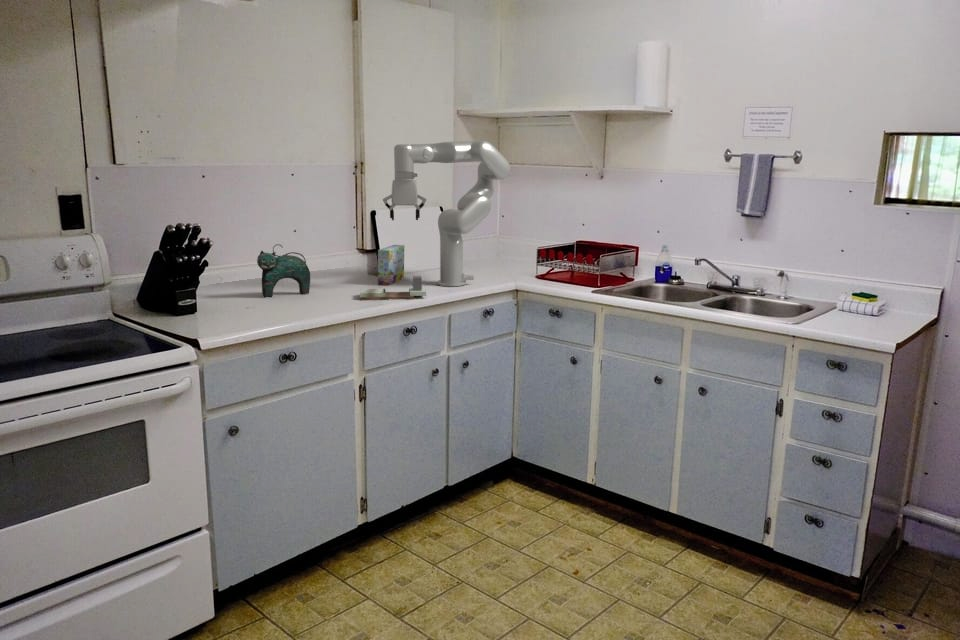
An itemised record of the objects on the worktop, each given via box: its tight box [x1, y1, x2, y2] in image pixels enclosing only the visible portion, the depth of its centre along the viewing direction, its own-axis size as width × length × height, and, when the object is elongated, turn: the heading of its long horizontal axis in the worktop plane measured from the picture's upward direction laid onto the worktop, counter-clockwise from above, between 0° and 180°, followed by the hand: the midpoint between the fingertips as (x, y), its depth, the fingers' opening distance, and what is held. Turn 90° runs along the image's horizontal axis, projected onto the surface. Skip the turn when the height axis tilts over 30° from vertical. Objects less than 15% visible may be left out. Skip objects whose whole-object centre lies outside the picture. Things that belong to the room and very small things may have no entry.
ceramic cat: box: [256, 243, 311, 298], centre depth 280 cm, size 20×6×20 cm, turn 121°
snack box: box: [377, 244, 405, 286], centre depth 315 cm, size 21×6×15 cm, turn 168°
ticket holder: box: [359, 288, 414, 301], centre depth 280 cm, size 20×11×3 cm, turn 98°
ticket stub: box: [408, 275, 427, 297], centre depth 281 cm, size 6×9×6 cm, turn 8°
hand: (404, 219), depth 292 cm, fingers open, 9 cm apart
